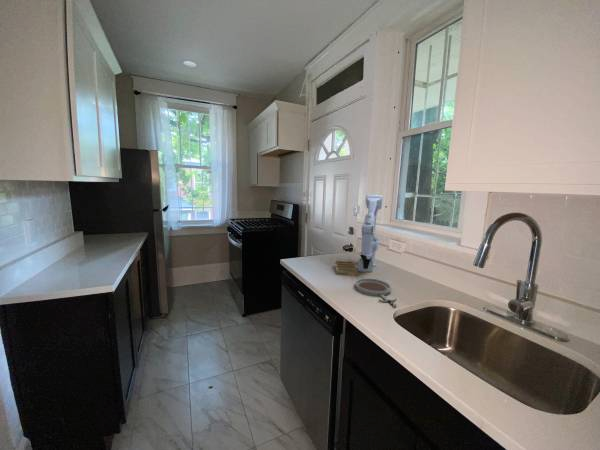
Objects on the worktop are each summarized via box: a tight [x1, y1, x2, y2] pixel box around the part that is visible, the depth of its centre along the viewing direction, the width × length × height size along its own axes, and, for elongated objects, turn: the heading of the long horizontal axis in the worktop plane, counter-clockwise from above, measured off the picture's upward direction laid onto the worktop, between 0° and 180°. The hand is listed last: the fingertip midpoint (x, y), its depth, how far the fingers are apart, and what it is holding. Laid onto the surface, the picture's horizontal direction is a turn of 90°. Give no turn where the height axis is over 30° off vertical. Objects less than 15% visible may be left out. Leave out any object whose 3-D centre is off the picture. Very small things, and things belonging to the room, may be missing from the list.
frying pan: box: [354, 277, 397, 309], centre depth 116 cm, size 17×3×28 cm
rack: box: [334, 260, 358, 276], centre depth 146 cm, size 14×11×4 cm
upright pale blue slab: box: [357, 258, 374, 273], centre depth 146 cm, size 2×8×7 cm, turn 87°
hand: (365, 267), depth 146 cm, fingers closed on upright pale blue slab, 2 cm apart
